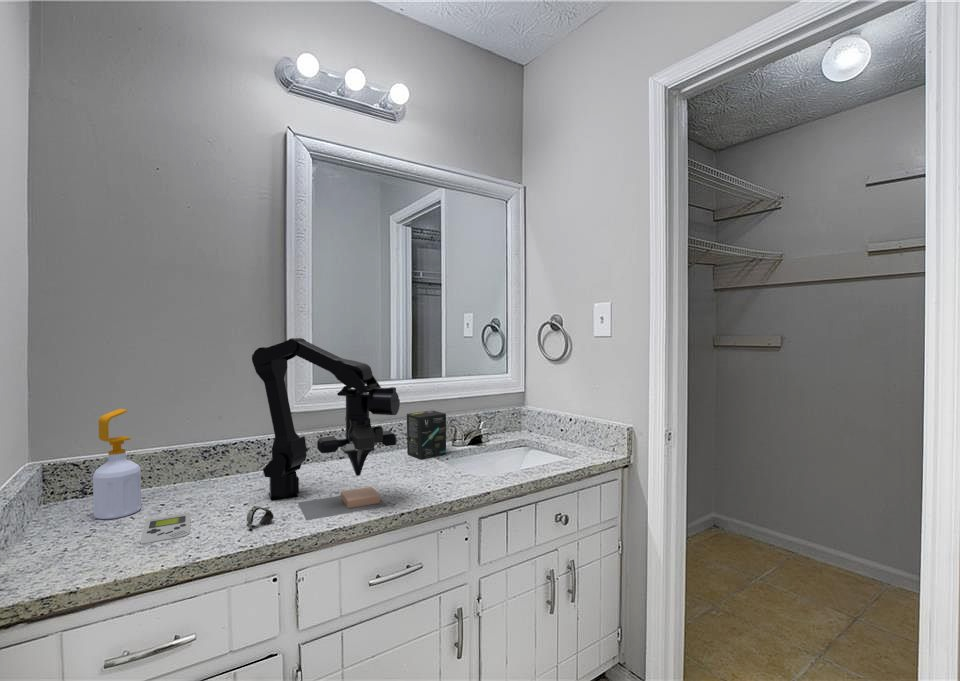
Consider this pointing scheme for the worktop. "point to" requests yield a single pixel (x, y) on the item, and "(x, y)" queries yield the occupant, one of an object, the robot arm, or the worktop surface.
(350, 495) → the tile
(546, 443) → the worktop surface
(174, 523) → the handheld gaming device
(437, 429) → the tampon box
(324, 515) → the mat
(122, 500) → the soap bottle
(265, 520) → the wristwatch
